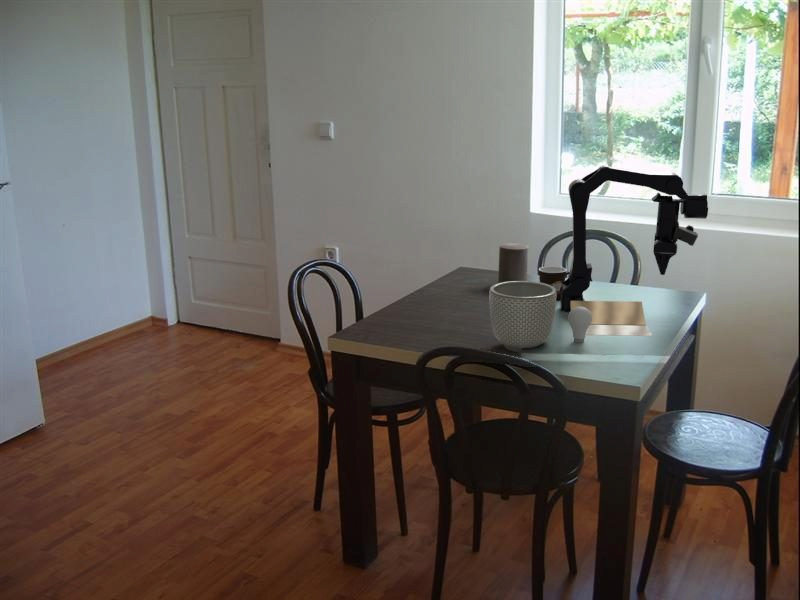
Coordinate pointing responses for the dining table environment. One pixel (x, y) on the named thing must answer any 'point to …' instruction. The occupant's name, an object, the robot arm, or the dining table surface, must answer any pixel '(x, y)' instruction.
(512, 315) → the planter
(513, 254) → the pillar candle
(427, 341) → the dining table surface
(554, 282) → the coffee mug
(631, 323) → the oak plank
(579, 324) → the lightbulb
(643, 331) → the board
